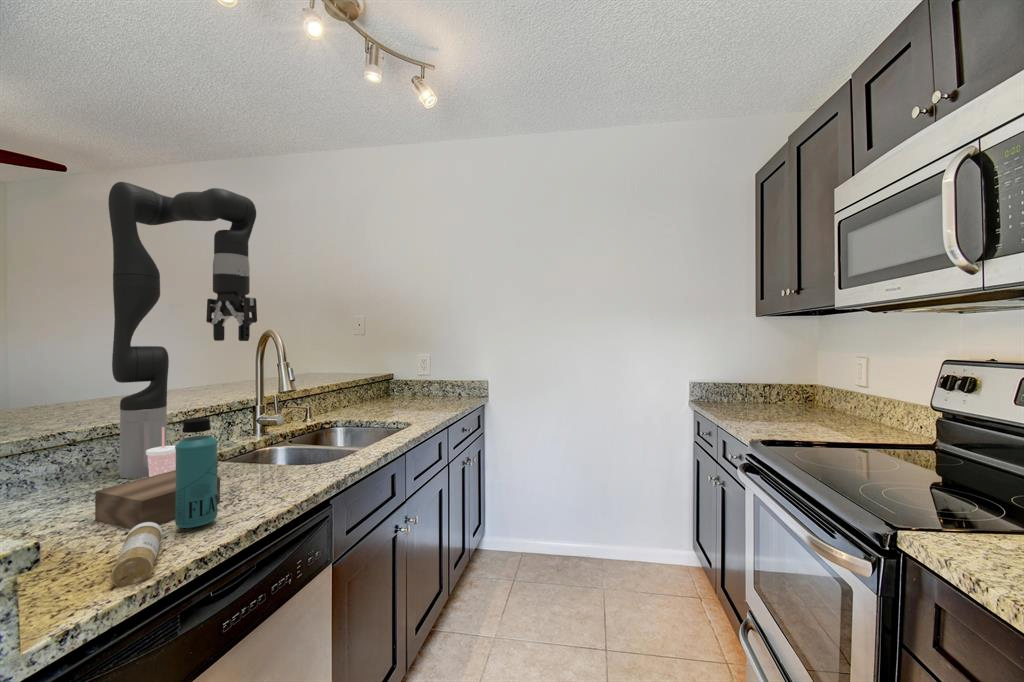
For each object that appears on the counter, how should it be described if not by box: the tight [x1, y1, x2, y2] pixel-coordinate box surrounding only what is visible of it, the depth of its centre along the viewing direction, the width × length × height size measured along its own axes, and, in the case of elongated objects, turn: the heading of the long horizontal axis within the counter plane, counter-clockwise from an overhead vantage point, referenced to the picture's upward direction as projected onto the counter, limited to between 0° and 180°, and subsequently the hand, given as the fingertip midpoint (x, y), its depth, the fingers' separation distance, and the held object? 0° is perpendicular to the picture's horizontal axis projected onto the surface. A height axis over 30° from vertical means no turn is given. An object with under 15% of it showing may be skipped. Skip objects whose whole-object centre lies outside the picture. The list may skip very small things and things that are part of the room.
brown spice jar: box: [110, 522, 164, 588], centre depth 64 cm, size 5×5×14 cm
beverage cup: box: [146, 427, 176, 477], centre depth 99 cm, size 6×6×14 cm
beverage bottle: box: [174, 417, 219, 529], centre depth 77 cm, size 6×7×20 cm
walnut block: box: [94, 470, 221, 530], centre depth 85 cm, size 14×14×6 cm
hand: (231, 340), depth 104 cm, fingers open, 8 cm apart
